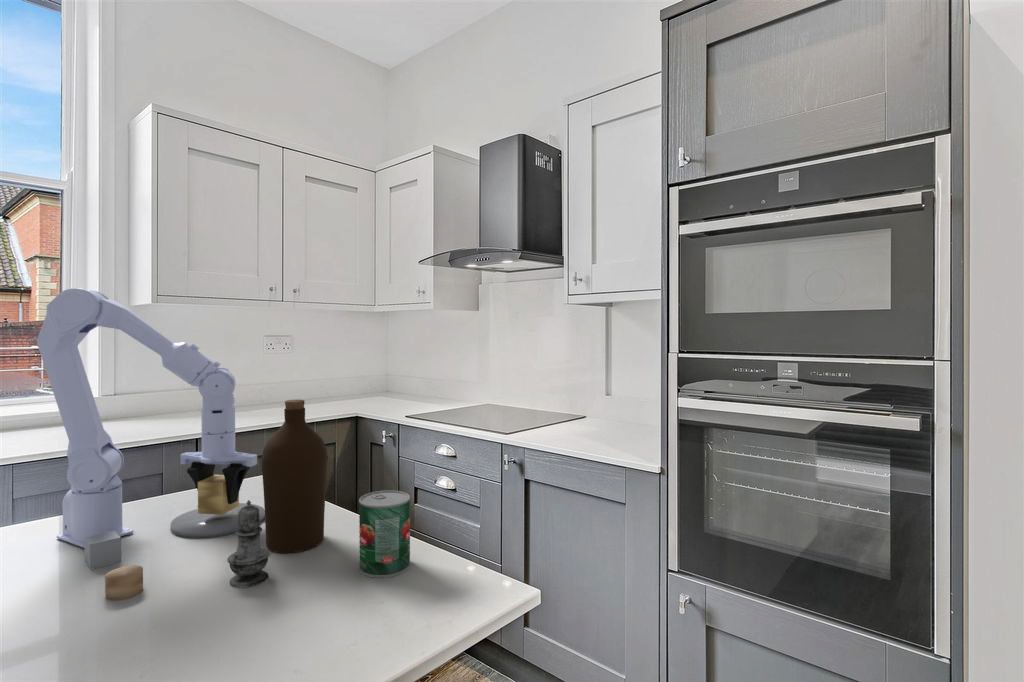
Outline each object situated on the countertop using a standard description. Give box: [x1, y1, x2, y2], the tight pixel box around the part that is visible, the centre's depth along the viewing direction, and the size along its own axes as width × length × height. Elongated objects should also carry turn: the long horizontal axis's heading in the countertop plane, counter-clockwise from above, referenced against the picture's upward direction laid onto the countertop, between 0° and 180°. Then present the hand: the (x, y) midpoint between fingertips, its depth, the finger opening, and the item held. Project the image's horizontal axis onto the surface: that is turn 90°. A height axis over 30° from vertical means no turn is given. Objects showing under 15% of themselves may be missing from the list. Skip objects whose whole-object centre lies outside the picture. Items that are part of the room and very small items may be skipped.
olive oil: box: [261, 399, 329, 554], centre depth 95 cm, size 11×11×25 cm
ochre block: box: [197, 474, 240, 515], centre depth 105 cm, size 5×5×6 cm
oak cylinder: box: [104, 564, 144, 601], centre depth 78 cm, size 4×4×3 cm
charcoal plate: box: [170, 502, 265, 539], centre depth 105 cm, size 16×16×1 cm
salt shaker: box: [226, 499, 271, 589], centre depth 82 cm, size 6×6×12 cm
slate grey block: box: [83, 531, 122, 570], centre depth 88 cm, size 4×4×4 cm
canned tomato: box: [358, 489, 411, 579], centre depth 86 cm, size 8×8×11 cm
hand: (219, 501), depth 105 cm, fingers closed on ochre block, 5 cm apart
